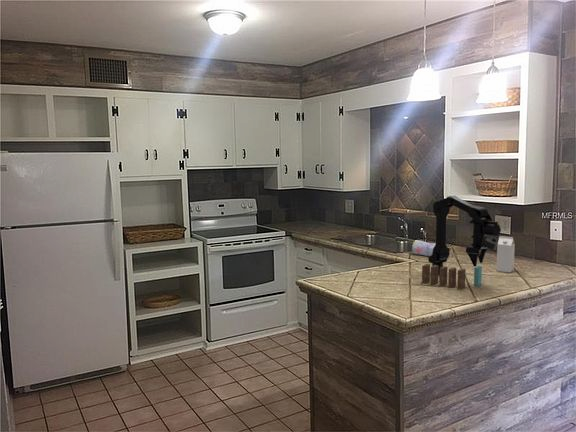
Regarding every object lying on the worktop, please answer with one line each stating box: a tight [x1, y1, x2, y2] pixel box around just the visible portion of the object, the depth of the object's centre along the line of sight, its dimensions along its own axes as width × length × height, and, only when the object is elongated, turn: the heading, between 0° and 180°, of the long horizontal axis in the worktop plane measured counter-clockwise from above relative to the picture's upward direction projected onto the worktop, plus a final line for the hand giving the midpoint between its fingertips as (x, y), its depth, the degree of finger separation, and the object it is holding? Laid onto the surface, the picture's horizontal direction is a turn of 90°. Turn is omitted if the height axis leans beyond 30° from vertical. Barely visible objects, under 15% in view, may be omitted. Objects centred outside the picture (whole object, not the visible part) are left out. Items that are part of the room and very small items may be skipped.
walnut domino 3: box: [438, 265, 449, 287], centre depth 239 cm, size 2×5×9 cm, turn 141°
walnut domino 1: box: [421, 263, 431, 285], centre depth 244 cm, size 2×5×9 cm, turn 141°
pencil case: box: [411, 239, 436, 257], centre depth 306 cm, size 21×9×10 cm, turn 48°
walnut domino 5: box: [456, 268, 466, 290], centre depth 233 cm, size 2×5×9 cm, turn 141°
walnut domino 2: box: [430, 265, 439, 286], centre depth 242 cm, size 2×5×9 cm, turn 140°
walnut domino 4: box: [447, 266, 457, 289], centre depth 236 cm, size 2×5×9 cm, turn 141°
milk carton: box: [496, 235, 516, 273], centre depth 264 cm, size 7×7×19 cm
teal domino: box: [473, 265, 483, 287], centre depth 238 cm, size 2×5×9 cm, turn 141°
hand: (478, 264), depth 237 cm, fingers open, 9 cm apart
